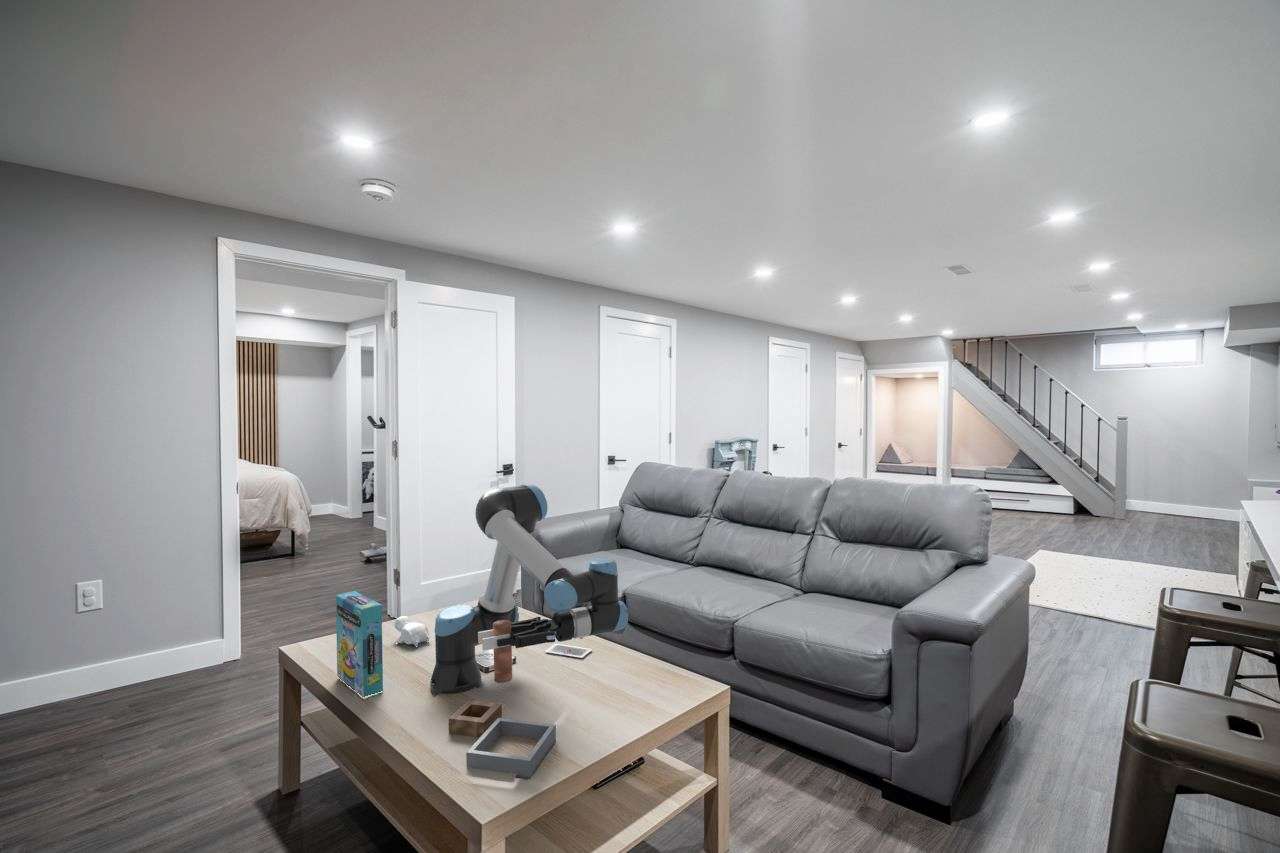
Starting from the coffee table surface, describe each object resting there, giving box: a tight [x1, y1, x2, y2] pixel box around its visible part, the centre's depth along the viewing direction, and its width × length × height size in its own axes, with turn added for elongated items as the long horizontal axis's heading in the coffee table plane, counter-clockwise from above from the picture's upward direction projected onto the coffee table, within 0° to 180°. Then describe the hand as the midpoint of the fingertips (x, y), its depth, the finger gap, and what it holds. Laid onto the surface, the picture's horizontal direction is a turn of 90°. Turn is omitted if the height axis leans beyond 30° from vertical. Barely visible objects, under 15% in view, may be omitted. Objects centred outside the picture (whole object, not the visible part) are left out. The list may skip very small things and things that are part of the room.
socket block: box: [448, 699, 503, 739], centre depth 156 cm, size 10×10×5 cm
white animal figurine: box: [394, 615, 431, 647], centre depth 218 cm, size 9×8×15 cm
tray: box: [465, 717, 557, 780], centre depth 144 cm, size 16×16×4 cm
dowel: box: [493, 620, 513, 684], centre depth 147 cm, size 4×4×14 cm
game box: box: [335, 590, 384, 697], centre depth 182 cm, size 20×6×27 cm, turn 47°
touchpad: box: [544, 642, 593, 659], centre depth 207 cm, size 8×15×2 cm, turn 68°
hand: (480, 641), depth 144 cm, fingers closed on dowel, 4 cm apart
